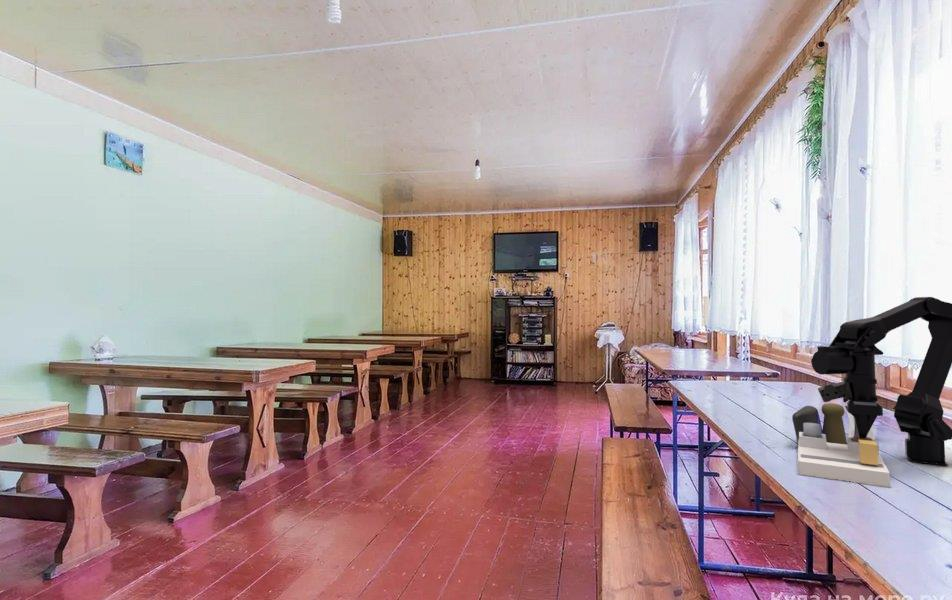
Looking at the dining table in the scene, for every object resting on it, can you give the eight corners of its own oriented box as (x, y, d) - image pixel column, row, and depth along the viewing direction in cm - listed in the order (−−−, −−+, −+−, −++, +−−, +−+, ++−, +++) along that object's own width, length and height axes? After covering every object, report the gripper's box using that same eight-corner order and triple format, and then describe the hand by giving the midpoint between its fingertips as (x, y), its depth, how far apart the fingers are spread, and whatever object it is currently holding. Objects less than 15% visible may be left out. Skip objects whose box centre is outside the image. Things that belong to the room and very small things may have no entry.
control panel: (876, 460, 120) (875, 437, 121) (890, 487, 102) (889, 461, 102) (798, 450, 129) (798, 429, 129) (798, 474, 111) (797, 450, 111)
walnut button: (871, 449, 118) (870, 437, 119) (873, 453, 115) (872, 440, 116) (852, 447, 120) (852, 435, 121) (854, 451, 117) (853, 438, 118)
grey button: (820, 435, 124) (820, 423, 124) (821, 438, 121) (820, 426, 121) (803, 433, 126) (803, 422, 126) (803, 436, 123) (803, 424, 123)
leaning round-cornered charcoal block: (818, 449, 127) (809, 413, 129) (798, 449, 130) (789, 413, 132) (830, 437, 139) (822, 404, 140) (811, 437, 142) (803, 405, 143)
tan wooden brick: (876, 461, 109) (875, 441, 109) (878, 465, 106) (877, 444, 106) (859, 458, 110) (858, 439, 110) (860, 463, 107) (859, 443, 107)
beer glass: (879, 443, 135) (877, 388, 136) (847, 439, 139) (846, 387, 139) (875, 437, 141) (873, 385, 142) (845, 434, 145) (843, 383, 145)
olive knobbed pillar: (840, 447, 132) (838, 406, 132) (816, 442, 137) (814, 403, 137) (852, 444, 134) (850, 404, 135) (828, 439, 140) (826, 401, 140)
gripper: (818, 367, 131) (820, 426, 130) (820, 376, 115) (823, 442, 115) (871, 370, 124) (873, 431, 124) (881, 379, 109) (884, 449, 109)
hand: (862, 438), depth 118 cm, fingers closed, pressing on walnut button
